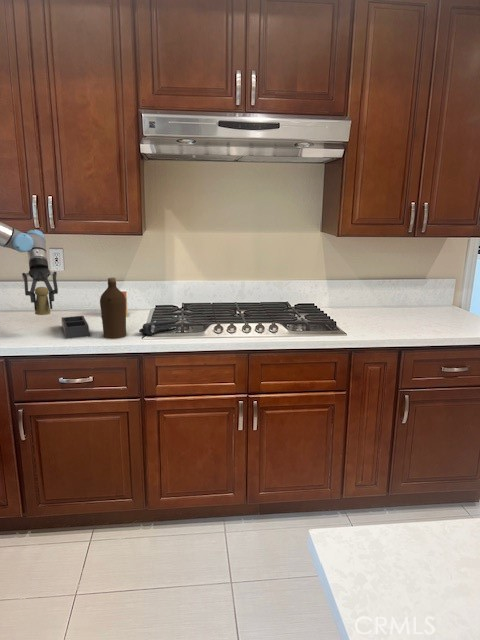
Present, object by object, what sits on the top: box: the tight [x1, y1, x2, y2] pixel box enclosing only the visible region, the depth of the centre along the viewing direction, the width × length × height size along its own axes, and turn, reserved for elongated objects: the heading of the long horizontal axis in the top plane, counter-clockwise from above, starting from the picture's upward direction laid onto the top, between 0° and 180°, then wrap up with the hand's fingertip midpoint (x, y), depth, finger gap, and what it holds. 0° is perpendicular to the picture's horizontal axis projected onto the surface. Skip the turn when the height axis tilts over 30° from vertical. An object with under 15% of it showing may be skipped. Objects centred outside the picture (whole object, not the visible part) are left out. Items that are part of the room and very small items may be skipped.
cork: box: [34, 286, 51, 316], centre depth 192 cm, size 6×6×11 cm
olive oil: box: [99, 277, 127, 340], centre depth 196 cm, size 11×11×25 cm
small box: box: [118, 288, 128, 318], centre depth 230 cm, size 8×6×13 cm
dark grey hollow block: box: [61, 315, 90, 340], centre depth 203 cm, size 9×18×5 cm, turn 25°
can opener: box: [138, 320, 177, 336], centre depth 204 cm, size 18×7×6 cm, turn 131°
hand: (43, 307), depth 189 cm, fingers closed on cork, 5 cm apart
